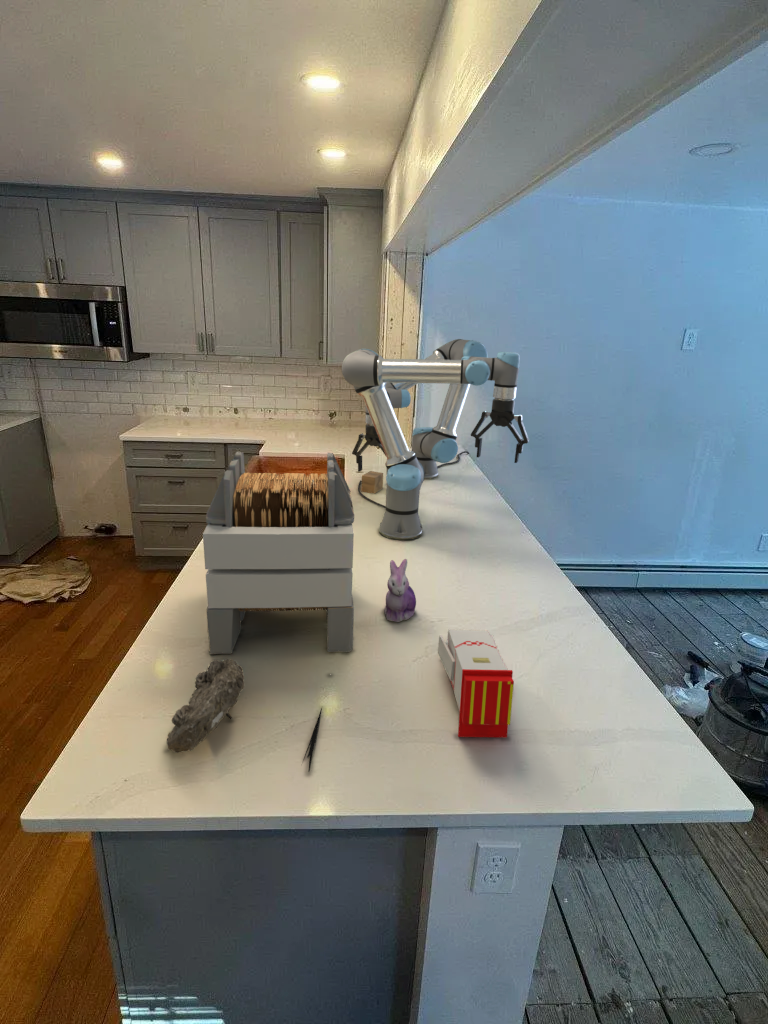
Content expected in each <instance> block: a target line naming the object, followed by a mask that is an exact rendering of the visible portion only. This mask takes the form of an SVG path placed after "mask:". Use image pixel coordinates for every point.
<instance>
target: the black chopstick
mask: <svg viewBox="0 0 768 1024" xmlns="http://www.w3.org/2000/svg"><path fill="white" fill-rule="evenodd" d="M329 675H330V676H331V675H332V674H331V673H330V674H329ZM322 710H323V707H321V708H320V710H319V713H318V716H317V719H316V723H315V725H314V728H313V731H312V733H311V737H310V739H309V742H308V745H307V748H306V751H305V754H304V757H303V760H302V763H301V767H302V765H303V763H304V761H305V758H308V759H309V760H308V762H307V763H308V764H307V766H308V771H310V770H311V766H312V765H311V764H312V760H313V757H315V756H314V755H315V751H316V749H315V746H317V739H318V733H319V729H320V722H321V717H322V712H323V711H322ZM313 754H314V755H313ZM306 755H307V757H306Z"/></svg>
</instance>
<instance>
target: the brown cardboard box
mask: <svg viewBox="0 0 768 1024" xmlns="http://www.w3.org/2000/svg"><path fill="white" fill-rule="evenodd" d="M361 481H362V482H361V486H360V492H361V493H362V492H363V493H369V494H372V495H373V494H376V493H378V492H380V491H381V490H383V484H384V473H383V472H379V471H373V470H370V471H368V472H366V473H363V474H362V475H361Z"/></svg>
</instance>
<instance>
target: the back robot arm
mask: <svg viewBox="0 0 768 1024" xmlns="http://www.w3.org/2000/svg"><path fill="white" fill-rule="evenodd" d="M488 355H489V354H488V350H487V348H486V346H485V345H484V344H483V343H482V342H480V341H477V340H474V339H463V338H457V339H456V338H455V339H452V340H450V341H448V342H446V343H444V344H443V345H441V346H439V347H438V348H436V349H434V350H433V351H432V354H430V355H429V356H427V357H426V358H425V359H439V360H461V359H462V357H464V356H468V357H469V356H473V357H486V358H489V356H488ZM416 385H418V383H386V386H385V389H386V392H387V394H388V397H389V399H390V402H391V405H392V407H393V409H403V408H408V407H409V406H410V405H411V400H412V399H411V398H412V397H411V394H410V391H409V390H410V389H411V388H412V387H414V386H416ZM470 386H471V384H449V386H448V388H447V392H446V395H445V398H444V402H443V405H442V408H441V411H440V415H439V418H438V421H437V423H436V425H435V426H434V427H433V426H432V427H431V426H422V427H415V428H413V430H412V433H411V434H412V435H411V451H413V452H414V453H415V455H416V457H417V460H418V462H419V463H420V464H421V465H422V467H423V470H424V480H434V479H437V478H438V477H439V470H438V469H439V468H441V467H444V466H448V465H454V464H455V465H456V464H457V463H459V461H460V460H461V457H460V456H461V455H463V454H467V455H470V452H469V451H468V450H464V451H462V452H459V446H458V443H457V438H458V434H457V432H456V430H457V428H458V424H459V421H460V419H461V416H462V415H461V414H462V412H463V408H464V406H465V403H466V399H467V396H468V393H469V389H470V388H471V387H470ZM364 419H365V422H364V423H365V434H364V433H360V434H358V437H357V438H358V439H357V441H356V444H355V446H354V447H353V449H352V451H351V455H354V456H355V463H356V464H357V472H358V473H359V472H361V471H363V455H362V454H363V453H364V451H365V450H366V449H367V448H368V447H369V446H370V447H376V448H379V449H380V450H381V451H382V453H383V454H384V456H385V457H386V454H385V452H384V449H383V447H382V444H381V442H380V439H379V437H378V434H377V432H376V429H375V427H374V424H373V422H372V419H371V417H370V414H369V412H368V409H367V407H366V406H365V418H364ZM364 440H365V441H366V442H365V443H364V444H363V445H362V443H363V441H364ZM361 445H362V446H361ZM458 452H459V453H458ZM456 456H457V460H455V461H453V460H454V459H455V458H456ZM437 463H440V464H439V465H437ZM387 471H388V470H387V469H386V472H387Z"/></svg>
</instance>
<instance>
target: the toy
mask: <svg viewBox="0 0 768 1024" xmlns="http://www.w3.org/2000/svg"><path fill="white" fill-rule="evenodd" d="M446 640H447V643H446V641H445V639H444V636H443V635H442V634H439V637H438V646H437V656H438V657H439V659H440V661H441V663H442V666H443V668H444V670H445V672H446V674H447V677H448V679H449V681H450V684H451V687H452V690H453V693H454V697H455V701H456V705H457V708H458V711H459V714H458V715H459V716H458V730H457V731H458V732H457V737H458V738H508V731H509V726H510V725H511V717H512V707H513V697H514V696H513V695H514V684H515V680H514V679H513V673H514V671H513V670H512V669H508V667H507V665H506V662H505V661H504V659H503V658H502V655H501V653H500V651H499V649H498V647H497V643H496V639H495V637H494V635H493V634H491V632H490V631H489V629H467V628H466V629H465V628H463V629H461V628H460V629H459V628H448V630H447V639H446Z"/></svg>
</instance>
